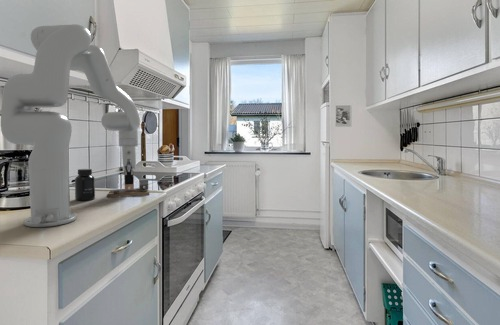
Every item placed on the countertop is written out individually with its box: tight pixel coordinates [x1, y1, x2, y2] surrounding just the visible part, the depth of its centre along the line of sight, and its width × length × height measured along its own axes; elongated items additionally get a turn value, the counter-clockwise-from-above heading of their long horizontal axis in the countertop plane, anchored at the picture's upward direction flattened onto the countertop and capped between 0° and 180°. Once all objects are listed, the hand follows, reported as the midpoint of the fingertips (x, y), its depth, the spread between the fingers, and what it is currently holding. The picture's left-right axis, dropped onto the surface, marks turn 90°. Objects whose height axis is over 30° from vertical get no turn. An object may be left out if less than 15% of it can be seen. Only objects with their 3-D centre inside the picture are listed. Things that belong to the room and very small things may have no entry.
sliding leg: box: [123, 169, 135, 190], centre depth 128 cm, size 6×4×8 cm, turn 22°
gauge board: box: [107, 178, 150, 198], centre depth 129 cm, size 9×16×6 cm, turn 112°
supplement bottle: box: [74, 168, 96, 202], centre depth 117 cm, size 7×7×12 cm
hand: (129, 182), depth 129 cm, fingers open, 9 cm apart
